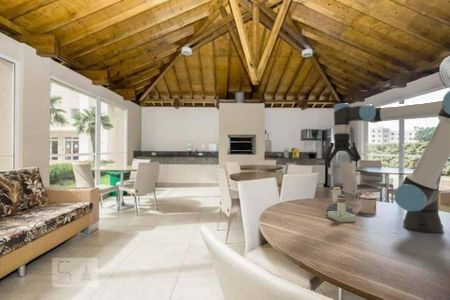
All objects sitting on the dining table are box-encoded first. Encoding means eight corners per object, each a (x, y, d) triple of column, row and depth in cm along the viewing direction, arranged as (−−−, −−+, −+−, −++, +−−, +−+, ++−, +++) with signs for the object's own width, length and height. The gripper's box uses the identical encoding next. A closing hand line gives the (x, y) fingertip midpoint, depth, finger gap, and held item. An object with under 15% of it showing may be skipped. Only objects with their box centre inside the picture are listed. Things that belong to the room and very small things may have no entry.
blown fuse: (347, 219, 142) (347, 196, 142) (340, 219, 141) (340, 196, 141) (342, 217, 146) (342, 194, 146) (335, 217, 145) (335, 195, 145)
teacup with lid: (378, 214, 153) (378, 194, 153) (360, 213, 156) (360, 193, 156) (374, 210, 164) (374, 190, 164) (357, 209, 167) (357, 190, 167)
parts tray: (355, 221, 139) (355, 215, 139) (339, 222, 137) (339, 216, 137) (343, 216, 149) (343, 210, 149) (327, 216, 148) (327, 211, 148)
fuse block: (353, 215, 152) (353, 207, 152) (340, 215, 151) (340, 208, 151) (339, 209, 166) (339, 202, 166) (327, 209, 165) (327, 203, 165)
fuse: (341, 208, 160) (341, 188, 160) (335, 208, 159) (335, 188, 159) (337, 206, 164) (337, 187, 164) (331, 207, 163) (331, 187, 163)
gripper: (358, 133, 149) (358, 172, 149) (316, 133, 145) (316, 173, 145) (368, 133, 141) (368, 173, 141) (323, 132, 137) (323, 174, 137)
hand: (342, 173), depth 143 cm, fingers open, 13 cm apart
